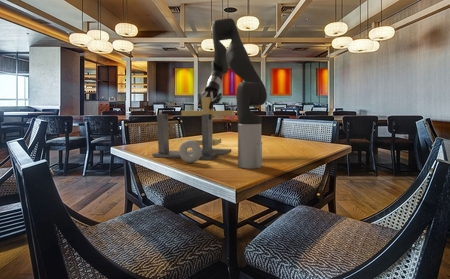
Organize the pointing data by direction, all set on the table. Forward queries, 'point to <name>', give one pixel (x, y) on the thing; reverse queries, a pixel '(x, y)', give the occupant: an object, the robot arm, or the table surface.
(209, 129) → the stand
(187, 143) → the donut
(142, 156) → the table surface
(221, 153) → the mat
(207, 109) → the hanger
